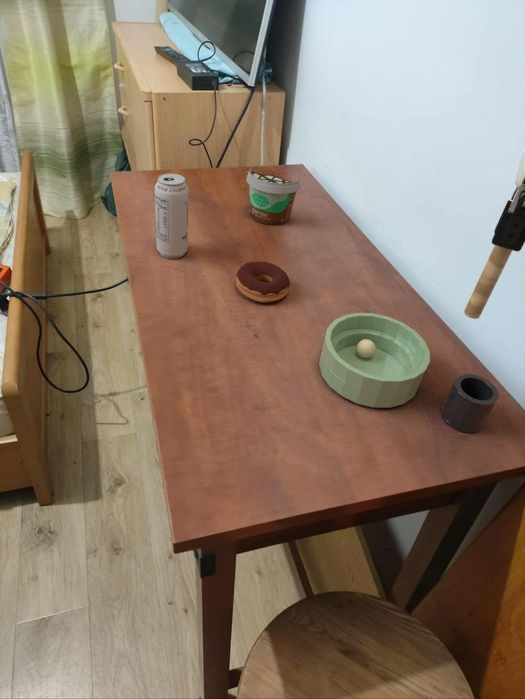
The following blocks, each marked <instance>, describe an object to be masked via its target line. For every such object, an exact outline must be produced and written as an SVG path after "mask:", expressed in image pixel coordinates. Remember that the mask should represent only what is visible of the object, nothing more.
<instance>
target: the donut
mask: <svg viewBox="0 0 525 699" xmlns="http://www.w3.org/2000/svg"><path fill="white" fill-rule="evenodd" d="M235 276H236V277H235V278H236V279H235V285H236V288H237V289H238V290H239V292H240V293H241V294H242V295H243V296H245V297H246V298H247V299H250V300H252V301H254V302H257V303H262V304H263V303H272V302H277V301H279V300H281V299H283V298H284V297H285V296H287V294H288V293H289V289H290V286H291V281H290V277H289V275H288V274H287V272H286V271H285V270H284V269H282V268H281V267H280V266H278V265H276V264H274V263H271V262H268V261H263V260H262V261H261V260H260V261H249V262H246V263H244V264H243V265H241V266H240V267H239V269H238V270H237V272H236V274H235Z"/></svg>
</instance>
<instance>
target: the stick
mask: <svg viewBox="0 0 525 699" xmlns="http://www.w3.org/2000/svg"><path fill="white" fill-rule="evenodd" d="M522 195H525V193H522ZM522 195H521V196H522ZM512 252H513V250H510V249H507V248H503V247H500V246H497V245H494V246H493V248H492V250H491V252H490V255H489V256H488V258H487V261H486V263H485V265H484V267H483V270H482V272H481V273H480V276H479V278H478V280H477V281H476V282H477V283H476V285H475V286H474V288H473V291H472V293H471V295H470V297H469V300H468V302H467V304H466V305H465V306H466V307H465V308H464V311H463V313H464V315H465V316H466V317H467V318H470V319H474V320H477V319H479V318H480V317H481V315H482V314H483V311H484V309H485V307H486V305H487V303H488V301H489V299H490V297H491V295H492V293H493V291H494V289H495V287H496V285H497V283H498V281H499V279H500V277H501V275H502V273H503V270H504V268H505V266H506V265H507V262H508V261H509V259H510V256H511V254H512Z"/></svg>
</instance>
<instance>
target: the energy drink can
mask: <svg viewBox="0 0 525 699" xmlns="http://www.w3.org/2000/svg"><path fill="white" fill-rule="evenodd" d="M154 207H155V208H154V210H155V212H154V213H155V238H156V249H157V251H158V252H159V254H160V255H161V256H162V257H163V258H166V259H179V258H182V257H183V256H184V255H185V254H186V252H187V251H188V249H189V246H188V244H189V186H188V185H187V183H186V178H185V177H184V176H183V175H181V174H177V173H170V172H169V173H168V172H167V173H163V174H160V175H158V176H157V181H156V183H155V185H154Z"/></svg>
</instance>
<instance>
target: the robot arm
mask: <svg viewBox="0 0 525 699" xmlns="http://www.w3.org/2000/svg"><path fill="white" fill-rule="evenodd" d="M514 184H515V188H514V191H513V193H512V194H511V197H510V200H509V199H508V200H507V201H506V203H505V205H504V208H503V211H502V213H501V215H500V217H499V219H498V221H497V224H496V226H495V228H494V231H493V232H494V234H493V236H492V239H491V244H492V245H494V246H495V245H497V246H500V247H503V248H507V249H510V250H512V252H513V251H514V252H520V251H521V250H522V248H523V247H524V245H525V195H522V193H525V146H524V147H523V151H522V154H521V156H520V161H519V162H518V167H517V173H516V175H515V180H514ZM521 195H522V196H521Z"/></svg>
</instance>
